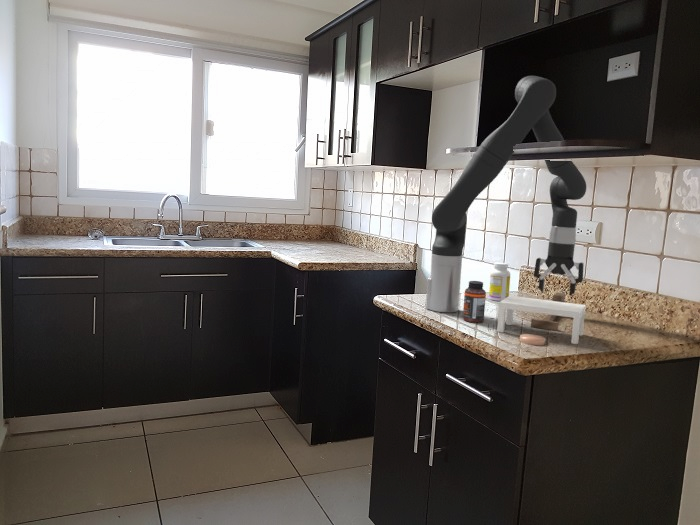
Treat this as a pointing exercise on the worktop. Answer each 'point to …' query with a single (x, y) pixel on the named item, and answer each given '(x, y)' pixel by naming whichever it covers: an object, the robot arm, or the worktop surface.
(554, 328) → the walnut push stick
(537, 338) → the terracotta coaster
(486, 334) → the worktop surface
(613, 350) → the worktop surface
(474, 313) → the supplement bottle
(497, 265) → the supplement bottle
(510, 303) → the white shelf
